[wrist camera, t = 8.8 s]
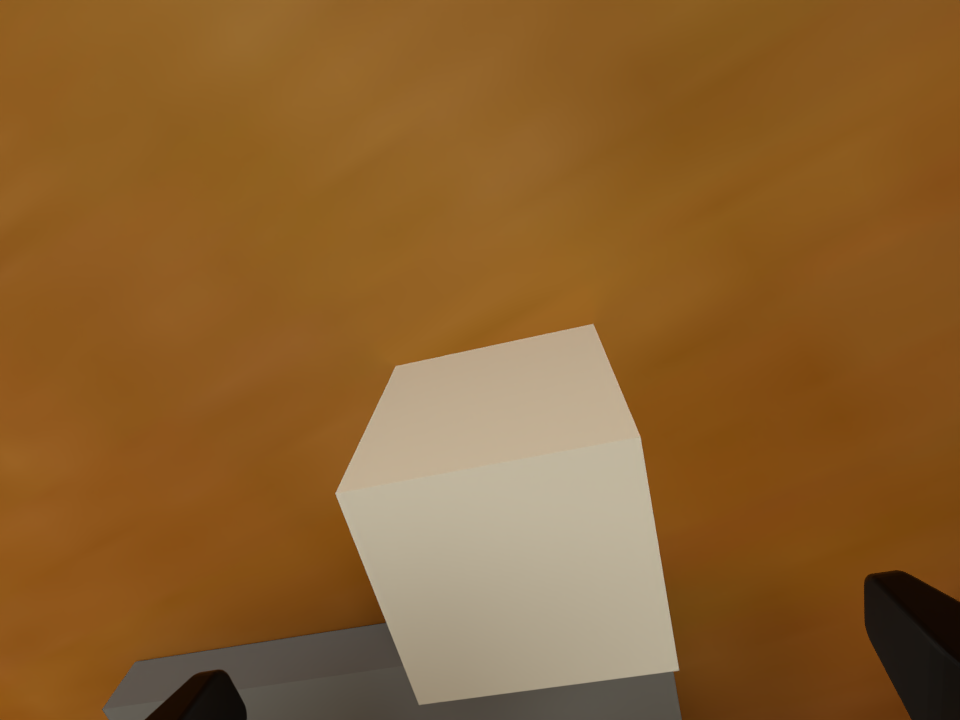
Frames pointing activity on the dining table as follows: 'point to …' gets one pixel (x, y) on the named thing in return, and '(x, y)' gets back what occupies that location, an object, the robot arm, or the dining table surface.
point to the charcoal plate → (373, 685)
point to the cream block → (510, 521)
